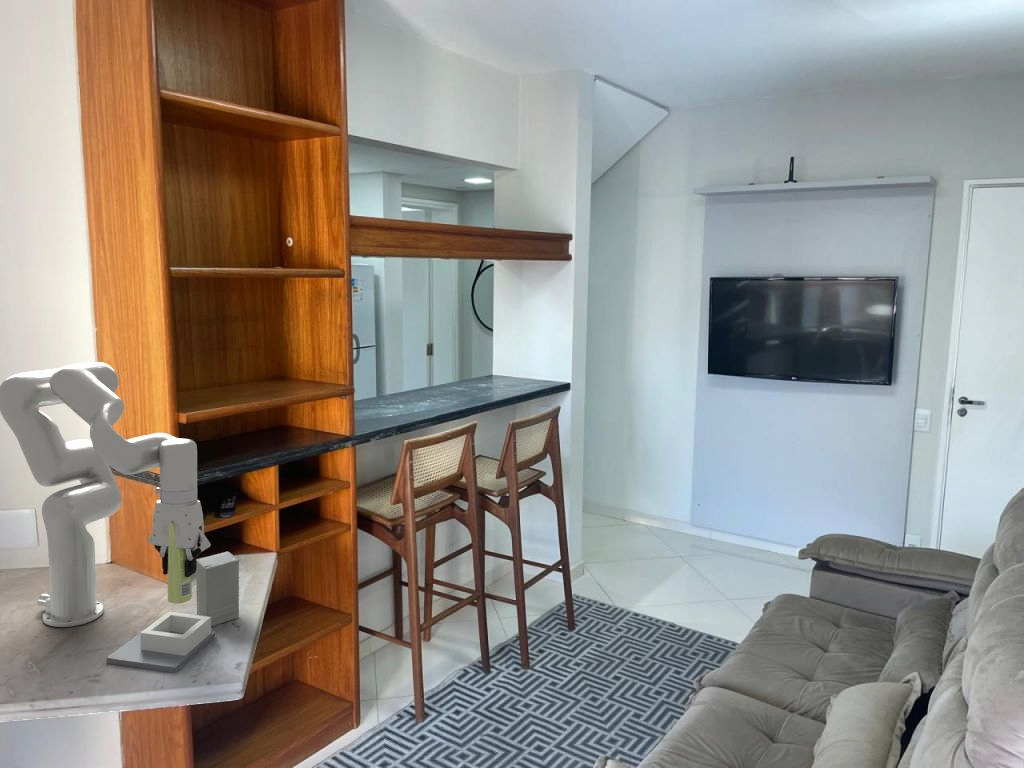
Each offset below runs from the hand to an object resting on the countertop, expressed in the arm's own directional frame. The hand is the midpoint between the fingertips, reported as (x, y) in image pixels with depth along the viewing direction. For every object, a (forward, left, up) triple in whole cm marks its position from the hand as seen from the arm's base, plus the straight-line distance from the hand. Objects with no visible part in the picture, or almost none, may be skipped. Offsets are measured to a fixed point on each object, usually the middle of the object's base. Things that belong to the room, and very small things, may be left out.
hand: (179, 572), depth 166 cm
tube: (0, 0, -7) cm, 7 cm away
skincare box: (+2, +13, -17) cm, 22 cm away
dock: (-2, -3, -17) cm, 18 cm away
